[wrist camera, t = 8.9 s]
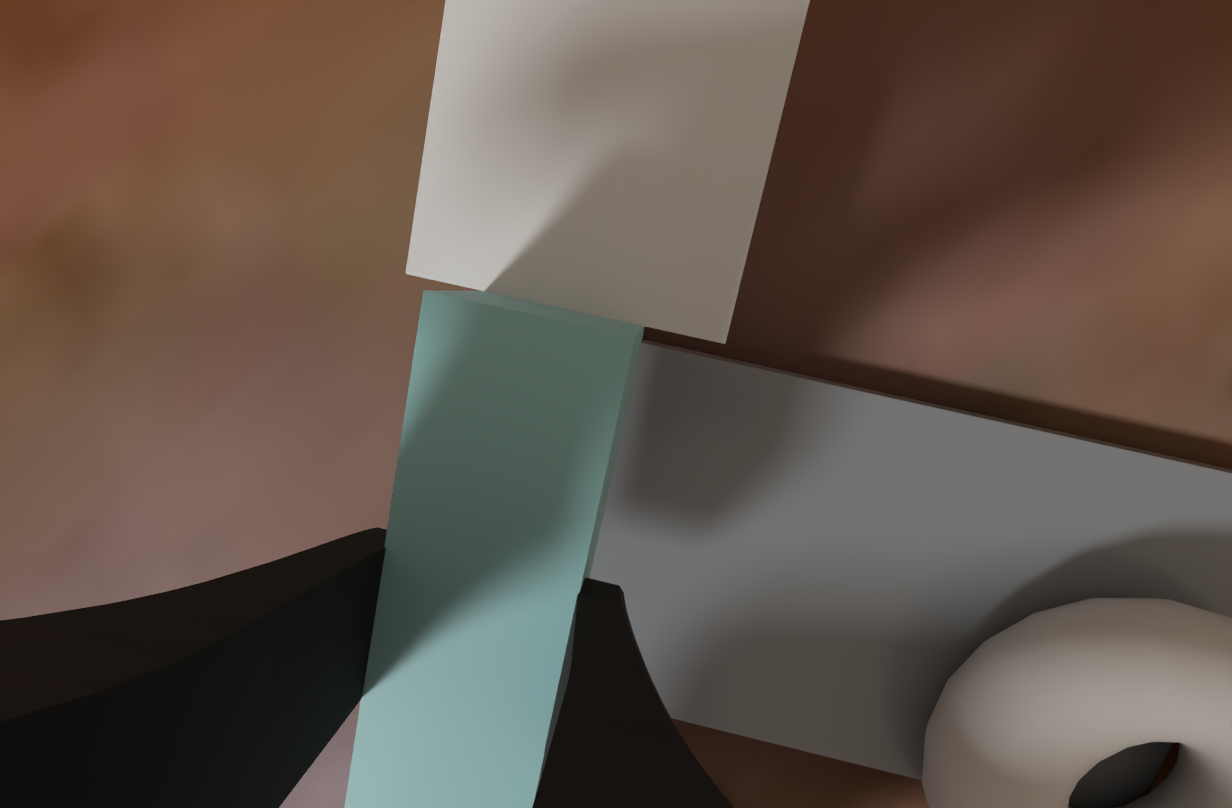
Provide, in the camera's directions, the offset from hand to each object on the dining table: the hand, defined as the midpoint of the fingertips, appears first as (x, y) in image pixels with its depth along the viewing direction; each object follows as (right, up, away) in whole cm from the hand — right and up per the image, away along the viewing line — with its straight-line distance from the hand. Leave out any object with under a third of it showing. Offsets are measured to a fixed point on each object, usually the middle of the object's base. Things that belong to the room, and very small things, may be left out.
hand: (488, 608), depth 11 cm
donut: (+16, -1, +5) cm, 17 cm away
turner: (+1, +3, +2) cm, 4 cm away
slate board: (+8, -1, +8) cm, 11 cm away
